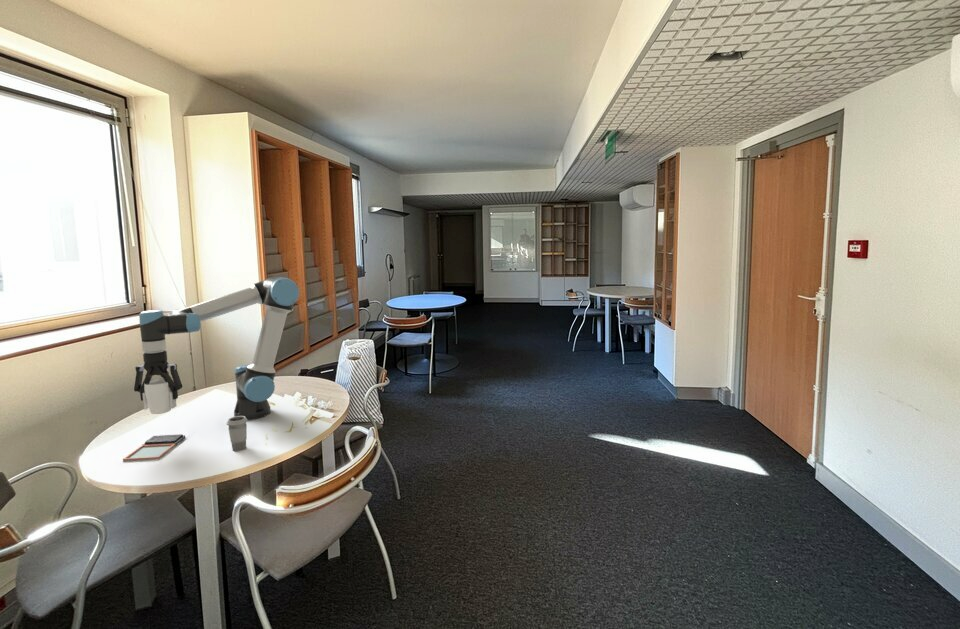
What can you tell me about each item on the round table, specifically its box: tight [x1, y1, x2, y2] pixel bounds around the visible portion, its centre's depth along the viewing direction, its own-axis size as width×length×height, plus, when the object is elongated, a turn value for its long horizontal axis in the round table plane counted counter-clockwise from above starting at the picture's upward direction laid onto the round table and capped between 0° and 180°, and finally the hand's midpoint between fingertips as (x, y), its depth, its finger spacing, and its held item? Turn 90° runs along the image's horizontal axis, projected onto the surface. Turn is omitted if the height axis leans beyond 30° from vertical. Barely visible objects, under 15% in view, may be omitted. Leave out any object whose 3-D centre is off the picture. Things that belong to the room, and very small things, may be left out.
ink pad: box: [141, 433, 186, 446], centre depth 188 cm, size 12×8×2 cm, turn 97°
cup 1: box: [144, 378, 172, 415], centre depth 185 cm, size 9×9×12 cm
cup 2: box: [226, 416, 248, 452], centre depth 181 cm, size 7×7×12 cm
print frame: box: [122, 444, 177, 463], centre depth 178 cm, size 12×12×1 cm
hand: (160, 407), depth 186 cm, fingers closed on cup 1, 9 cm apart
